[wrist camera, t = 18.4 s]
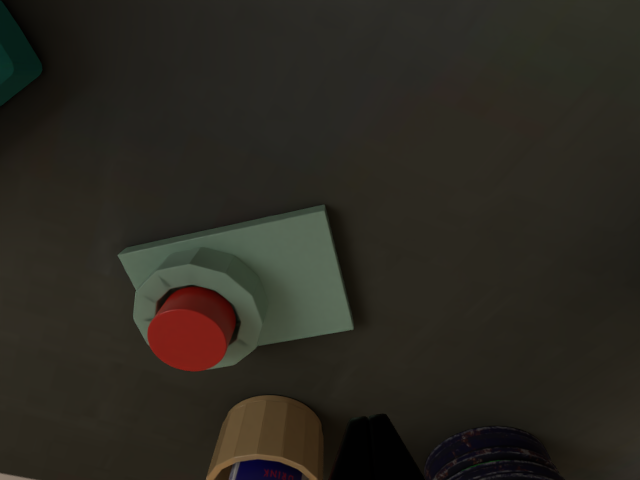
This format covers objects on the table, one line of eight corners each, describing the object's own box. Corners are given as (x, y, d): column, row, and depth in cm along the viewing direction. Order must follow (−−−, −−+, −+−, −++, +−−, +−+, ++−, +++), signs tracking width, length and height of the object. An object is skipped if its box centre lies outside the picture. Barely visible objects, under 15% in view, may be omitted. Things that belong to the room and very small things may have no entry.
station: (324, 204, 20) (324, 225, 17) (353, 319, 23) (356, 352, 20) (126, 247, 21) (95, 273, 18) (179, 350, 24) (160, 385, 21)
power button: (221, 279, 19) (209, 302, 17) (245, 338, 20) (237, 365, 18) (151, 293, 19) (132, 317, 17) (180, 349, 21) (166, 377, 19)
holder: (309, 387, 25) (305, 447, 21) (332, 455, 28) (332, 519, 24) (209, 403, 26) (187, 463, 22) (242, 467, 29) (228, 530, 25)
